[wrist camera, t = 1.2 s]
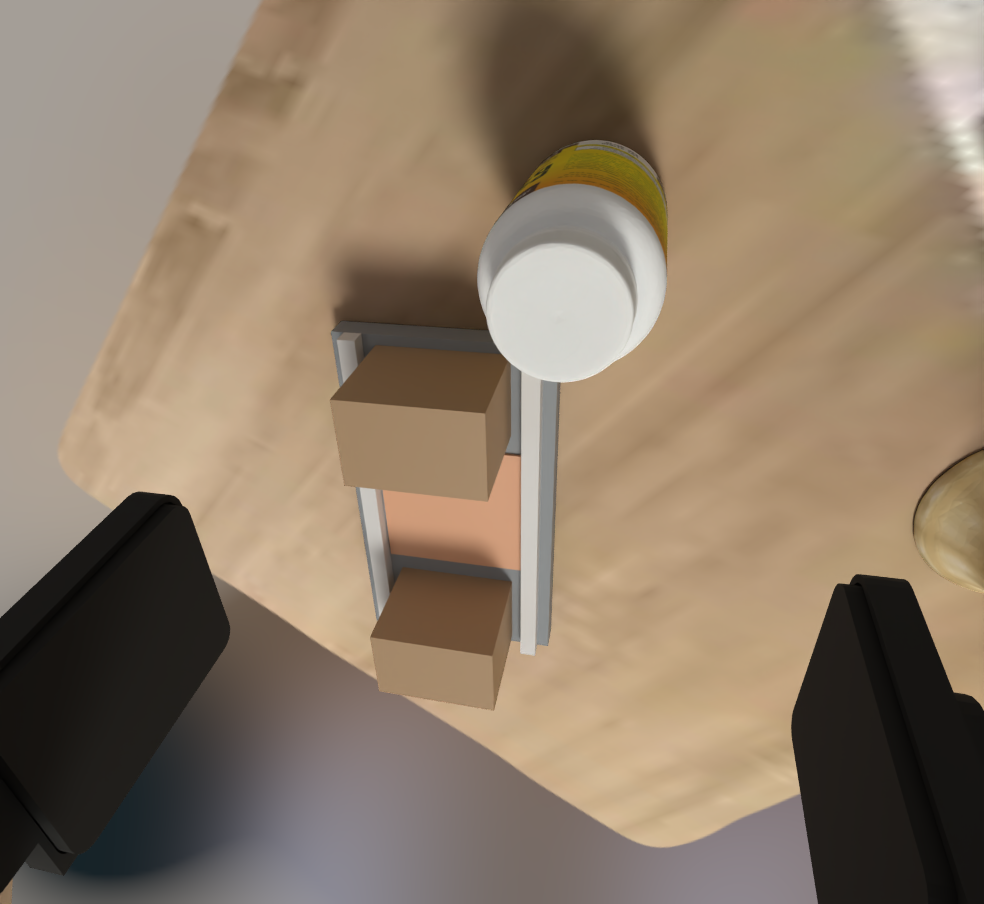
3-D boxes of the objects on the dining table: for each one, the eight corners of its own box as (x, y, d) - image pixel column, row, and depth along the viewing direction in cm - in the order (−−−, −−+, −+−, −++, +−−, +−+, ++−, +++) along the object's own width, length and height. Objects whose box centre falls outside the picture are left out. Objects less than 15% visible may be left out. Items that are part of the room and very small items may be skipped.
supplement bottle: (556, 110, 25) (499, 168, 16) (696, 175, 25) (710, 266, 17) (500, 251, 28) (429, 360, 20) (624, 308, 28) (606, 439, 20)
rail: (341, 320, 31) (278, 383, 26) (562, 335, 29) (540, 406, 24) (383, 605, 41) (343, 691, 36) (550, 629, 39) (533, 723, 34)
